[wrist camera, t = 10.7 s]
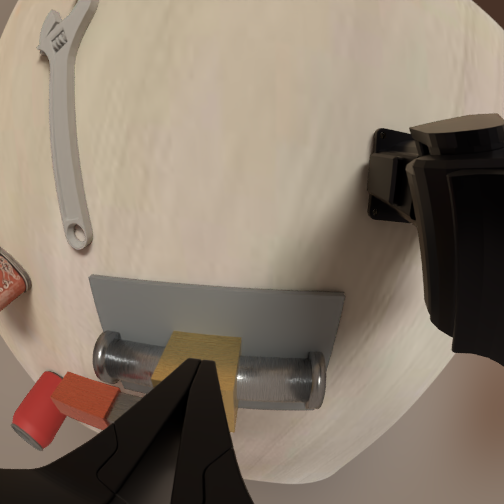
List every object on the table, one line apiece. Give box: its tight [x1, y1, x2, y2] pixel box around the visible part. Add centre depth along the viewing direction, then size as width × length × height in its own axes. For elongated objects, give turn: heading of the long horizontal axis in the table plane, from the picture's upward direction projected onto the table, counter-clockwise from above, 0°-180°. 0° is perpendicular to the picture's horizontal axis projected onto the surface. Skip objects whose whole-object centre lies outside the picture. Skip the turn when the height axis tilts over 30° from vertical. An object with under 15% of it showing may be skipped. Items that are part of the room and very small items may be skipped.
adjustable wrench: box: [37, 0, 99, 250], centre depth 16 cm, size 25×6×2 cm, turn 0°
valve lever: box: [50, 372, 141, 430], centre depth 17 cm, size 13×2×3 cm, turn 88°
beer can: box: [11, 371, 67, 451], centre depth 25 cm, size 7×7×12 cm
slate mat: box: [88, 275, 345, 410], centre depth 24 cm, size 22×15×1 cm
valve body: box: [93, 330, 326, 432], centre depth 21 cm, size 20×6×7 cm, turn 88°
